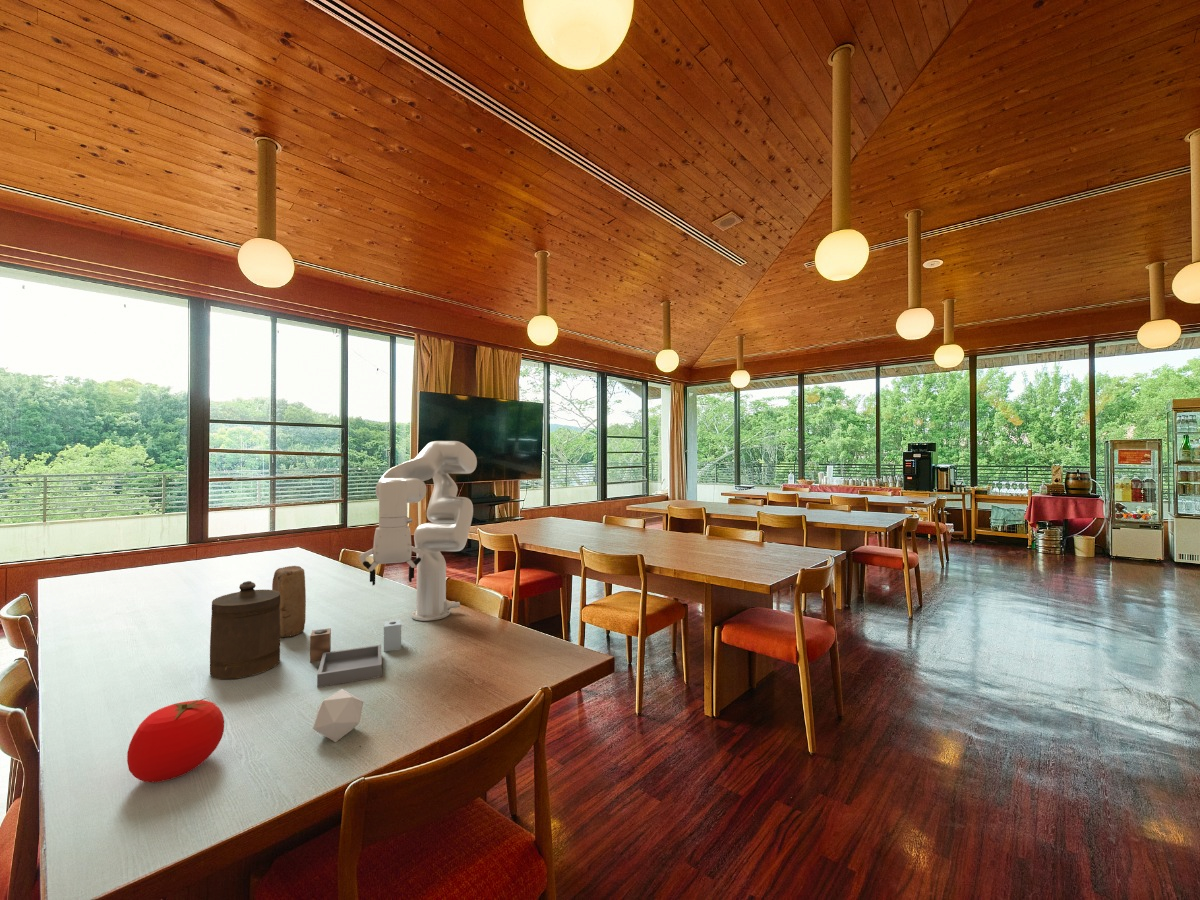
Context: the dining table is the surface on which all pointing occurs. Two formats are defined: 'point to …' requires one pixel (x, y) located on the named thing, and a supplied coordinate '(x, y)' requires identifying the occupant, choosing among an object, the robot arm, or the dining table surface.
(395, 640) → the grey rectangular block
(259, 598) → the wooden container
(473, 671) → the dining table surface
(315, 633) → the walnut block
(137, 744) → the tomato
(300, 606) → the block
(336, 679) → the tray
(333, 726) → the die
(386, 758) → the dining table surface
